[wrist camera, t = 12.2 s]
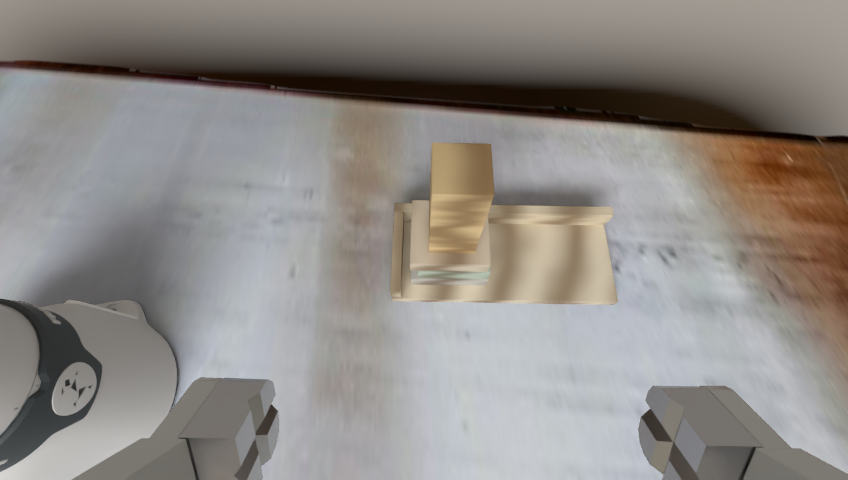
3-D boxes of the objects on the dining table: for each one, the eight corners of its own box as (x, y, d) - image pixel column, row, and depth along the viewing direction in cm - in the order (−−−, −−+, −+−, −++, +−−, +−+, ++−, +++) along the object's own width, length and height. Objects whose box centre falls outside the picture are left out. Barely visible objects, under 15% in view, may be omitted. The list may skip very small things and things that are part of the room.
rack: (392, 300, 44) (390, 290, 40) (396, 218, 48) (394, 203, 44) (612, 304, 44) (629, 294, 41) (598, 222, 48) (612, 207, 45)
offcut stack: (411, 284, 43) (409, 265, 38) (412, 226, 46) (412, 200, 41) (485, 285, 43) (495, 266, 38) (482, 227, 46) (491, 201, 41)
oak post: (428, 252, 38) (431, 193, 28) (428, 211, 40) (432, 142, 30) (474, 253, 38) (494, 194, 28) (473, 212, 40) (490, 143, 30)
